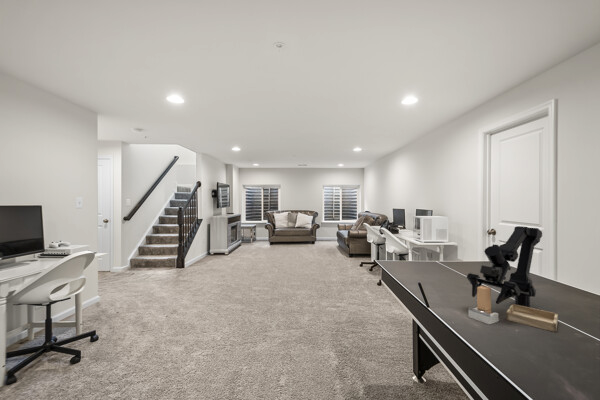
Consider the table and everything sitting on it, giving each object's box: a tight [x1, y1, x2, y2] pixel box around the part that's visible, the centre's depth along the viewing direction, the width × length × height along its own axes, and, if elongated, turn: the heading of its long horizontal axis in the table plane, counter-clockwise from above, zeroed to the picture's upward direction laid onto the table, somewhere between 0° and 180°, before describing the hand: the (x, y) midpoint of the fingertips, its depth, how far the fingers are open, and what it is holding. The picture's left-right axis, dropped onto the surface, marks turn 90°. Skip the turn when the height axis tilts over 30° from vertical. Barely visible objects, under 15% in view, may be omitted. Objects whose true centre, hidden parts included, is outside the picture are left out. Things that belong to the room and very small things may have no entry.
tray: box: [505, 303, 559, 333], centre depth 110 cm, size 15×15×3 cm
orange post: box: [476, 285, 492, 314], centre depth 111 cm, size 4×3×13 cm, turn 118°
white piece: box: [468, 306, 500, 325], centre depth 111 cm, size 8×8×4 cm
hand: (484, 299), depth 111 cm, fingers open, 9 cm apart
